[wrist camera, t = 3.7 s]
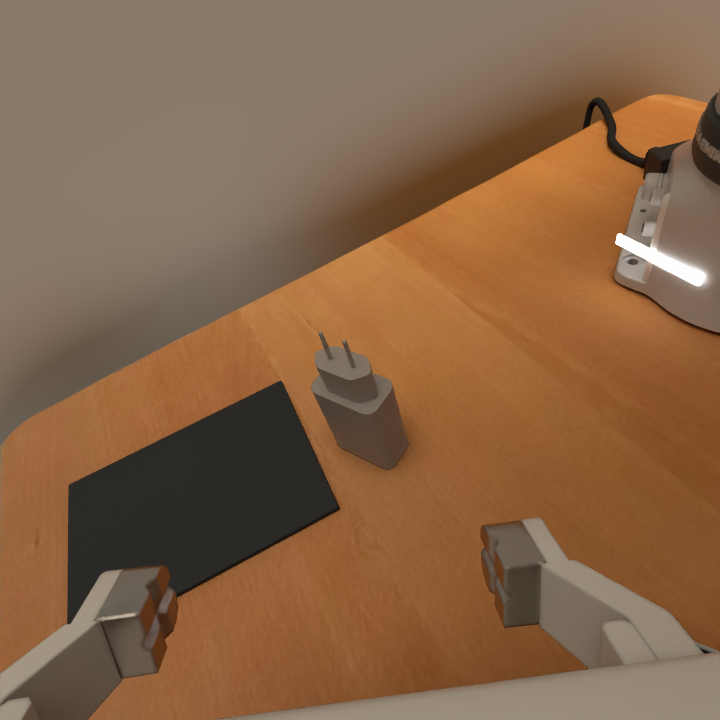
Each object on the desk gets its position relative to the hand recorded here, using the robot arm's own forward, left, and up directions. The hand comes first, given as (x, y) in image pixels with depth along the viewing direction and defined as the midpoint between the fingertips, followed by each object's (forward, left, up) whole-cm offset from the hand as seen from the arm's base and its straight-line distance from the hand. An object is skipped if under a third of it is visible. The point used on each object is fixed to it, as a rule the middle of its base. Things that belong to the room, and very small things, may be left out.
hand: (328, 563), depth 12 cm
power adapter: (-14, -7, -19) cm, 25 cm away
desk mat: (-8, -20, -19) cm, 29 cm away
